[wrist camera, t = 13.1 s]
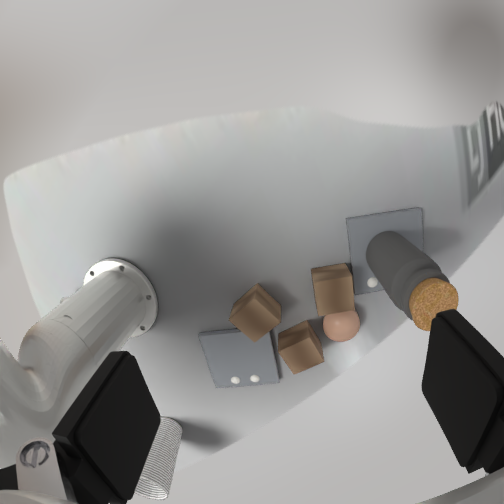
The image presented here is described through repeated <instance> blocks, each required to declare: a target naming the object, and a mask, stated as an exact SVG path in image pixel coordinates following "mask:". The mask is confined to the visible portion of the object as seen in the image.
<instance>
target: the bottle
mask: <svg viewBox="0 0 504 504" xmlns="http://www.w3.org/2000/svg"><path fill="white" fill-rule="evenodd" d="M366 260H367V264H368V266H369V267H370V269H371V270H372V272H373V273H374V275H375V276H376V278H377V279H378V281H379V282H380V284H381V285H382V286H383V288H384V289H385V291H386V292H387V294H388V295H389V297H390V298H391V300H392V301H393V302H394V304H395V305H396V306H397V307H398V308H399V309H400V310H402V311H404V312H405V314H406V315H407V316H408V317H409V318H410V319H411V320H413V321H414V323H415V325H416V326H417V327H418V328H420V329H422V330H425V331H430V329H431V321H432V319H433V318H435V317H436V314H437V313H438V312H441V311H445V310H449V309H455V310H456V309H457V306H458V293H457V291H456V289H455V287H454V286H453V285H452V284H450V282H449V280H448V278H447V277H446V276H445V275H444V274H443V273H442V272H441V270H440V268H439V266H438V265H437V264H436V263H435V262H434V261H433V260H432V259H431V258H430V257H428V256H427V255H426V254H425V253H423V252H422V251H421V250H420V249H418V248H417V247H416V246H415V245H413V244H412V243H411V242H409V241H408V240H407V239H405V238H404V237H403V236H401V235H400V234H398V233H396V232H393V231H384V232H381V233H379V234H377V235H376V236H375V237H373V238H372V240H371V241H370V242H369V244H368V246H367V250H366Z"/></svg>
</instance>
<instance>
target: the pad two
mask: <svg viewBox="0 0 504 504" xmlns="http://www.w3.org/2000/svg"><path fill="white" fill-rule="evenodd" d="M199 339H200V342H201V345H202V348H203V351H204V354H205V357H206V360H207V363H208V366H209V369H210V372H211V375H212V378H213V380H214V383H215V386H216V388H223V387H238V386H251V385H263V384H273V383H279V382H280V378H279V373H278V368H277V363H276V359H275V354H274V349H273V344H272V339H271V334H270V331H269V332H268V333H267V334H265V335H264V336H263V337H262V338H260V339H259V340H258V341H256V342H255V343H254V342H253V341H252V340H251V339H250V338H248V337H247V336H246V335H245V334H244V333H243V332H241V331H240V330H239V329H231V330H221V331H211V332H201V333H200V334H199Z"/></svg>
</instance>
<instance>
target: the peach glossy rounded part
mask: <svg viewBox="0 0 504 504" xmlns="http://www.w3.org/2000/svg"><path fill="white" fill-rule="evenodd" d="M359 328H360V320H359V316H358V313H357V311H356V310H351V311H346V312H340V313H334V314H329V315H324V318H323V329H324V332H325V334H326V335H327V337H329V338H330V339H332V340H334V341H338V342H343V341H347V340H350V339H351V338H353V337H354V336H355V335H356V334H357V332H358V331H359Z"/></svg>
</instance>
